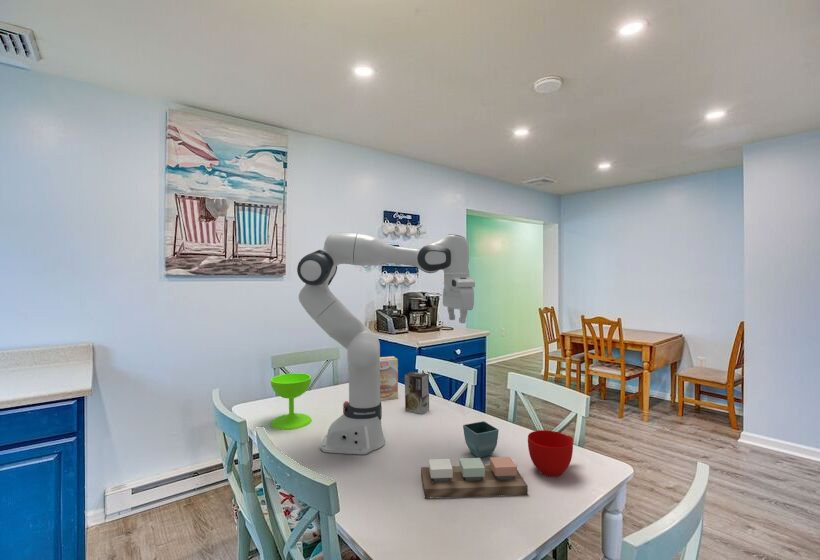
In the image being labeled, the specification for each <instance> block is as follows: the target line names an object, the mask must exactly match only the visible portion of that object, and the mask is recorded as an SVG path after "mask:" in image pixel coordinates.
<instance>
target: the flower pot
mask: <svg viewBox="0 0 820 560" xmlns="http://www.w3.org/2000/svg"><path fill="white" fill-rule="evenodd" d="M462 428H463V435H464V436H463V437H464V441H465V443H466V446H467V448H468V450H469V452H470V453H472V454H473V455H474V456H475V457H476V458H480V459H481V458H484V457H488V456H491V455H492V454H493V453H494V451H495V449H496V448H497V444H498V438H499V430H500V429H499V428H497V427H495V426H494V425H492V424H489V423H488V422H487V421H485V420H482V421H478V422H471V423H466V424H463V425H462Z"/></svg>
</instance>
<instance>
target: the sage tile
mask: <svg viewBox="0 0 820 560" xmlns="http://www.w3.org/2000/svg"><path fill="white" fill-rule="evenodd" d="M484 465H485V464H484V463H483V461H482V459H481V457H480V458H478V457H466V458H464V457H463V458H459V465H458V466H459V467H460V469H461V472H462V475H463V477H464V480H465V481H477V480H481V477H485V467H484Z"/></svg>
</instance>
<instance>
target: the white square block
mask: <svg viewBox="0 0 820 560" xmlns="http://www.w3.org/2000/svg"><path fill="white" fill-rule="evenodd" d="M452 466H453V465H452V463H451V460H450V458H438V459H437V458H436V459H435V458H434V459H428V467H429V471H430V476H431V478H432V481H433V482H448V481H449V478H453V469H452Z"/></svg>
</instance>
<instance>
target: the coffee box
mask: <svg viewBox="0 0 820 560" xmlns="http://www.w3.org/2000/svg"><path fill="white" fill-rule="evenodd" d="M429 379H430V374H429V373H425V372H424V373H423V372H417V371H410V372H408V373H406V374H404V402H405V403H404V404H405V405H404V406H405V408H404V409H405V410H404V411H405V412H409V413H413V414H414V413H415V414H418V415H420V414H421V415H423V414H425V413H427V412H430V380H429Z"/></svg>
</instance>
